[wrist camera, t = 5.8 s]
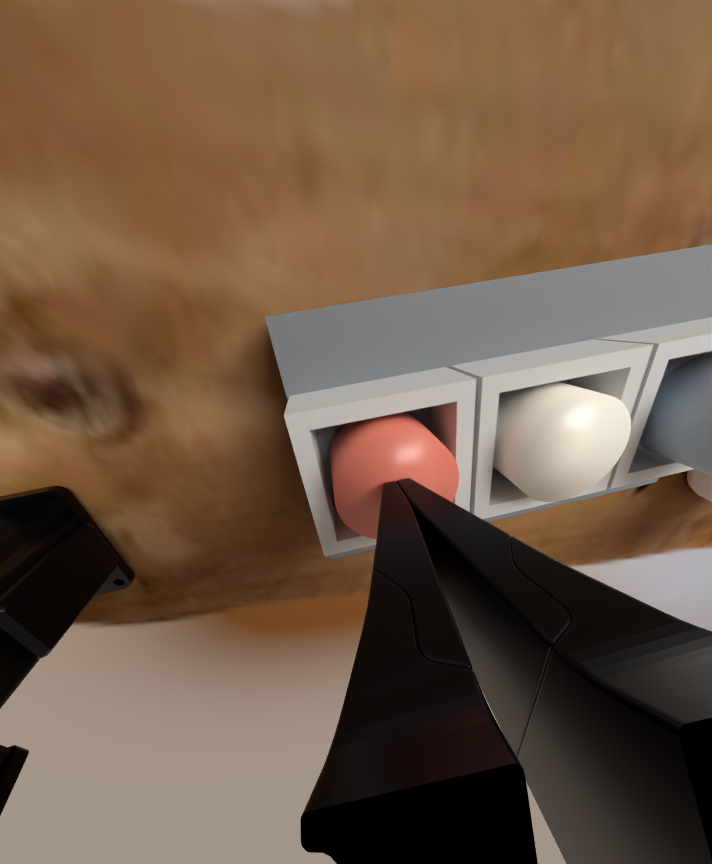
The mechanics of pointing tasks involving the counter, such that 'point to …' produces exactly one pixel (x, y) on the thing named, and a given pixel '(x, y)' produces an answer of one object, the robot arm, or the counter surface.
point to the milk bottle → (700, 483)
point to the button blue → (683, 416)
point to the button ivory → (558, 439)
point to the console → (490, 368)
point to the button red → (385, 465)
